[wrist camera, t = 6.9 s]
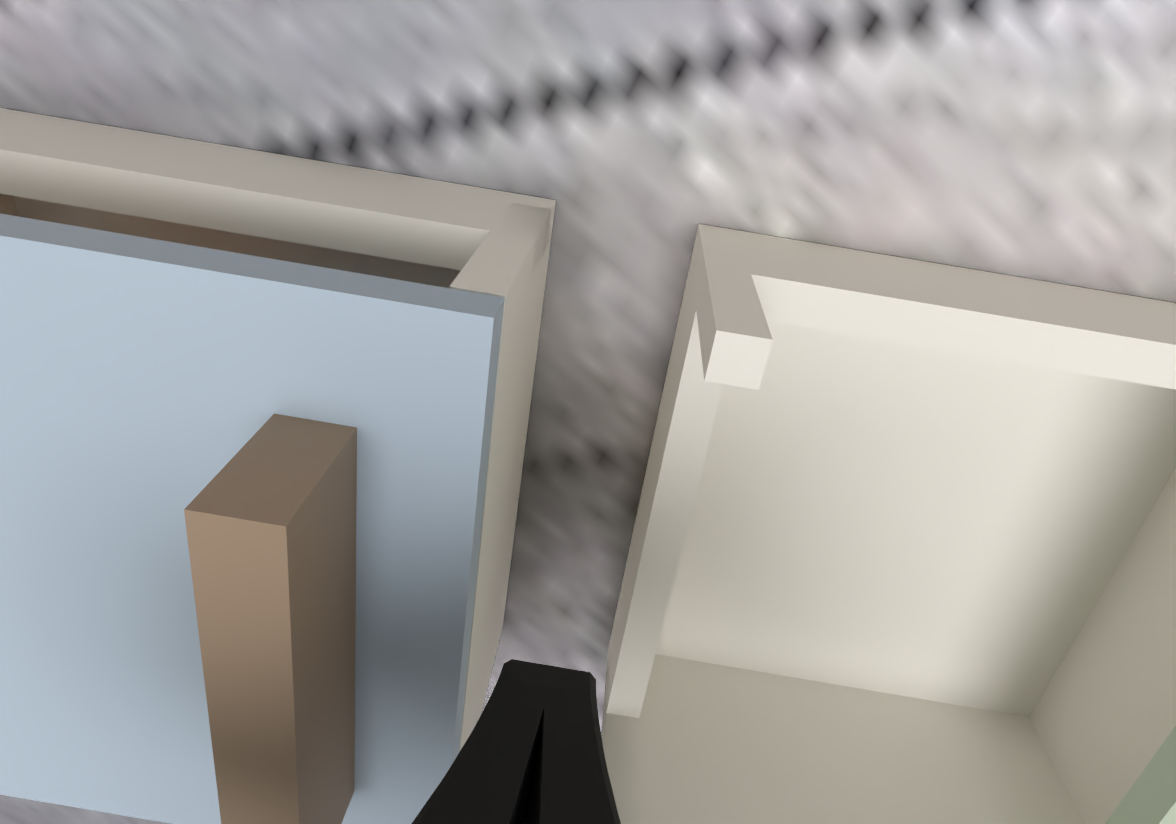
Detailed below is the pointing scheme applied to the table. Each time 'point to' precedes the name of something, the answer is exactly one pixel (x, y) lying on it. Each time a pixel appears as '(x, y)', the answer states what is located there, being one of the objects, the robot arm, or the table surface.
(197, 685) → the lid
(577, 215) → the table surface
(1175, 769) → the lid
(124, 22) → the table surface
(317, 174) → the crate
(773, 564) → the crate
